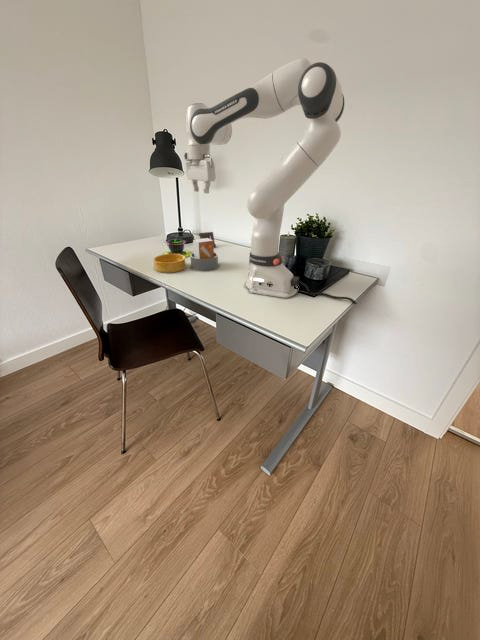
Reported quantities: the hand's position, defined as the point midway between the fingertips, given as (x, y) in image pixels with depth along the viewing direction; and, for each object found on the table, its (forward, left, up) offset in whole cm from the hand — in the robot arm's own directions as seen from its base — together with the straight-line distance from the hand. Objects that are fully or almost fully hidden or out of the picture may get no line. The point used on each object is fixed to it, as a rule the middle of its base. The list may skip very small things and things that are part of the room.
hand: (201, 192), depth 115 cm
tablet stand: (+24, -33, -35) cm, 54 cm away
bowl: (+15, +9, -34) cm, 39 cm away
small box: (+2, -2, -34) cm, 34 cm away
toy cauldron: (+28, -10, -35) cm, 46 cm away
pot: (+2, -2, -34) cm, 35 cm away
